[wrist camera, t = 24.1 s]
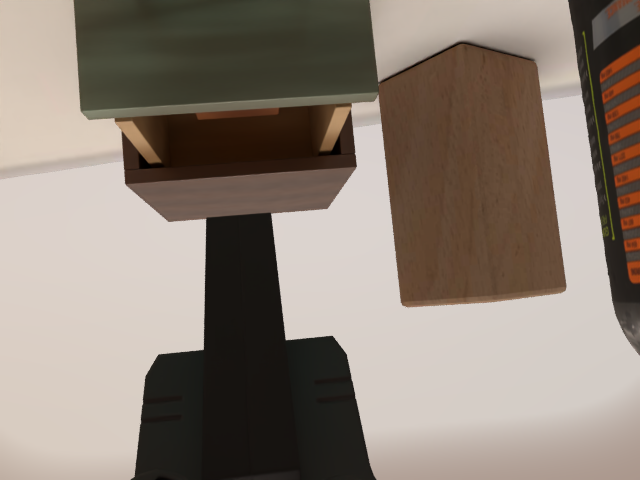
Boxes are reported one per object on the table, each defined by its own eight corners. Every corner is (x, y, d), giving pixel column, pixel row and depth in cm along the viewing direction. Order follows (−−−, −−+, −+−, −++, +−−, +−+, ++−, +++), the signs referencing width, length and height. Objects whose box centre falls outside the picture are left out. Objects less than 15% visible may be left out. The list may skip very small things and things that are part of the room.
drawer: (4, -220, 20) (18, 46, 19) (388, -223, 21) (416, 26, 20) (139, 54, 42) (149, 183, 41) (324, 44, 43) (336, 169, 42)
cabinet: (113, 8, 37) (124, 185, 36) (339, -2, 38) (357, 167, 37) (159, 99, 54) (168, 222, 53) (316, 89, 55) (327, 208, 54)
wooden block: (450, 96, 61) (474, 298, 59) (375, 83, 55) (399, 308, 53) (538, 60, 53) (569, 292, 51) (461, 40, 47) (493, 302, 45)
